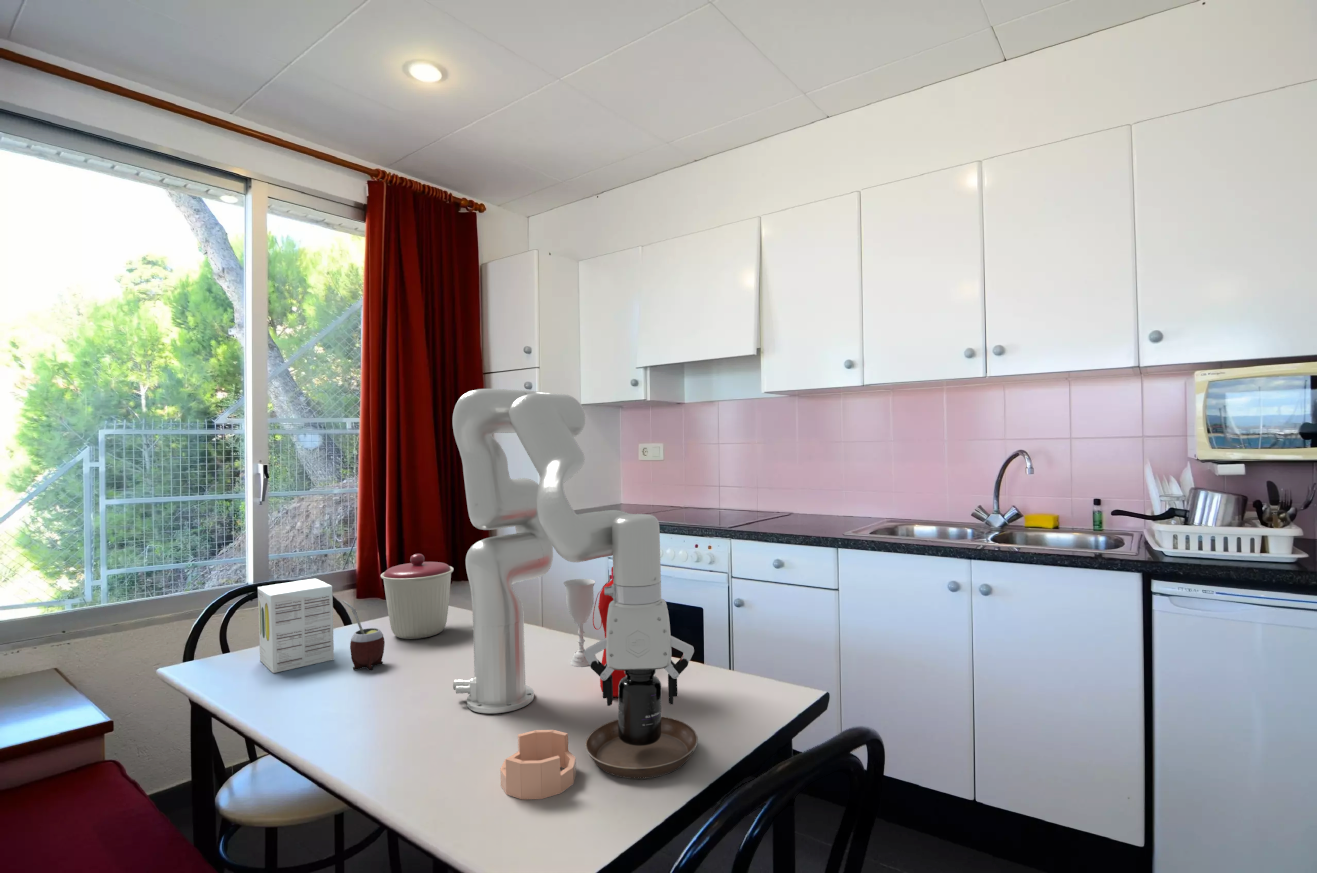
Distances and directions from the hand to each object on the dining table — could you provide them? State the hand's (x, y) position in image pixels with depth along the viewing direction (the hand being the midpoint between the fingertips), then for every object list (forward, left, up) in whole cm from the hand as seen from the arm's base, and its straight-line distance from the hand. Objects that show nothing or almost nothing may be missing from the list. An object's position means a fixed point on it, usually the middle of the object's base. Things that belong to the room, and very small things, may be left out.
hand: (640, 701), depth 105 cm
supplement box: (-83, +51, -9) cm, 98 cm away
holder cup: (-15, -7, -8) cm, 19 cm away
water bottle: (-5, +27, -8) cm, 29 cm away
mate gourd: (-64, +45, -9) cm, 79 cm away
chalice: (-15, +44, -8) cm, 47 cm away
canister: (-61, +70, -9) cm, 93 cm away
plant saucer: (0, 0, -9) cm, 9 cm away
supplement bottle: (0, 0, -6) cm, 6 cm away
